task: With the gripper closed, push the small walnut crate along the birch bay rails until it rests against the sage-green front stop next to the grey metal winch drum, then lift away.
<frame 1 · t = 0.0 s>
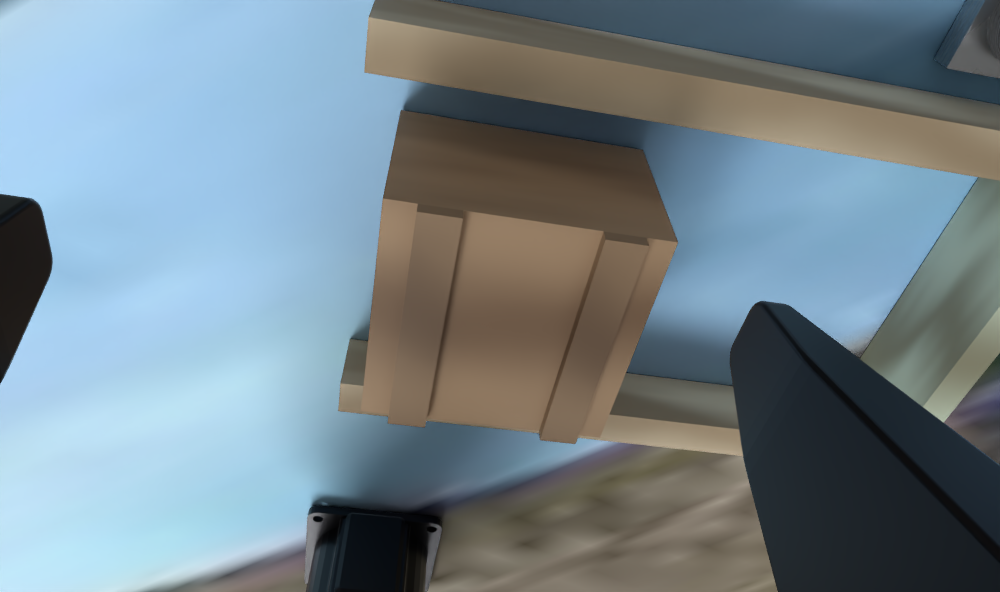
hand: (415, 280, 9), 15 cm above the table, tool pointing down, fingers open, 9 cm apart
crate: (503, 282, 24), point 3 cm above the table, slide at 0.0 cm
bay: (661, 254, 27), on the table
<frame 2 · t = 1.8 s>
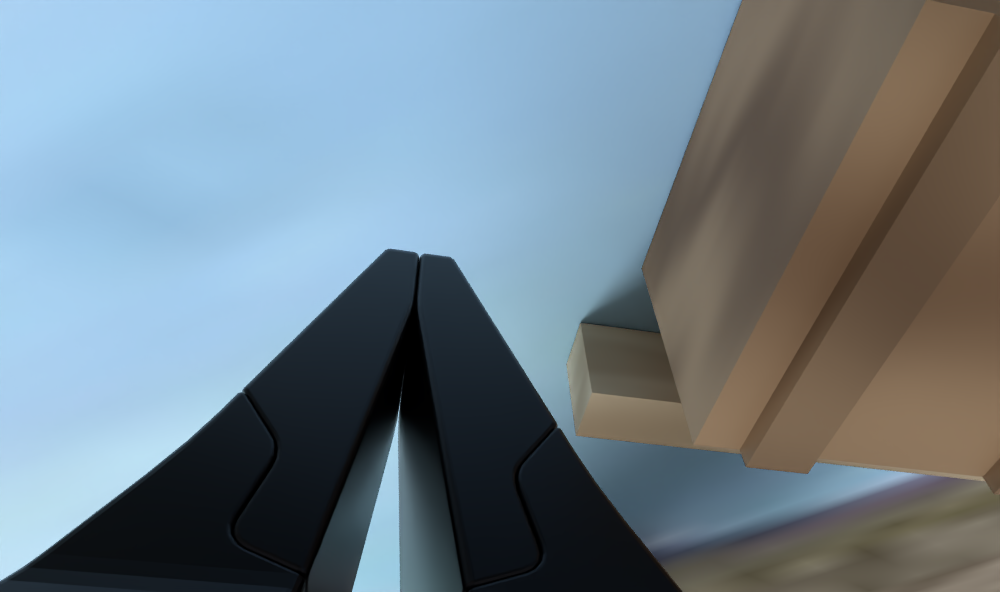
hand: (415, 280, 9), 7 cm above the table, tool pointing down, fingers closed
crate: (941, 218, 14), point 3 cm above the table, slide at 0.0 cm
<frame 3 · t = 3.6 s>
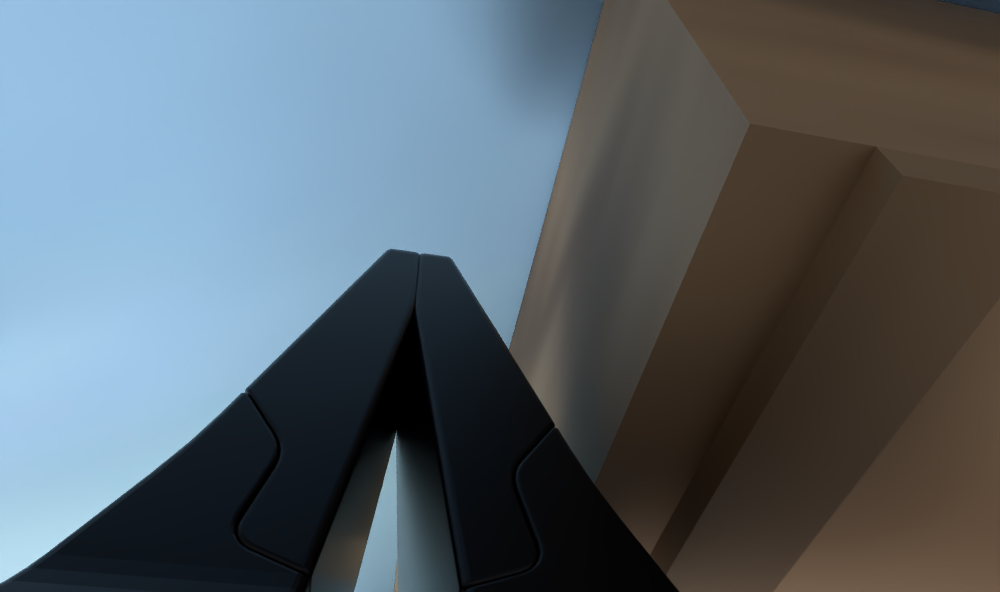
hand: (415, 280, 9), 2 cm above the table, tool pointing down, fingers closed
crate: (858, 369, 10), point 3 cm above the table, slide at 0.4 cm, touching gripper
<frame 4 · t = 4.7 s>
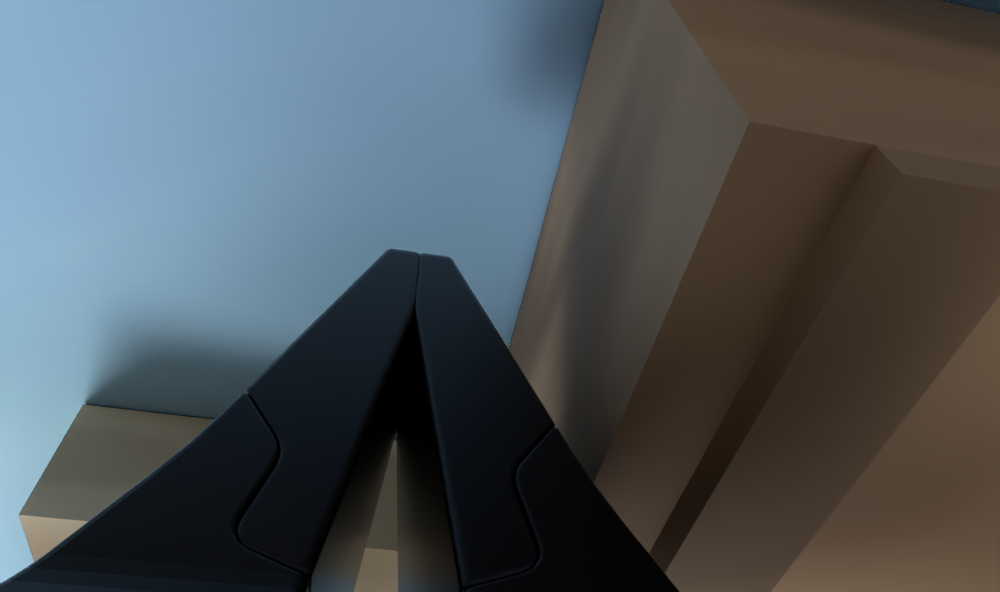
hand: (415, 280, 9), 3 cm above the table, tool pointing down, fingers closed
crate: (857, 368, 10), point 3 cm above the table, slide at 6.8 cm, touching gripper
bay: (740, 233, 12), on the table
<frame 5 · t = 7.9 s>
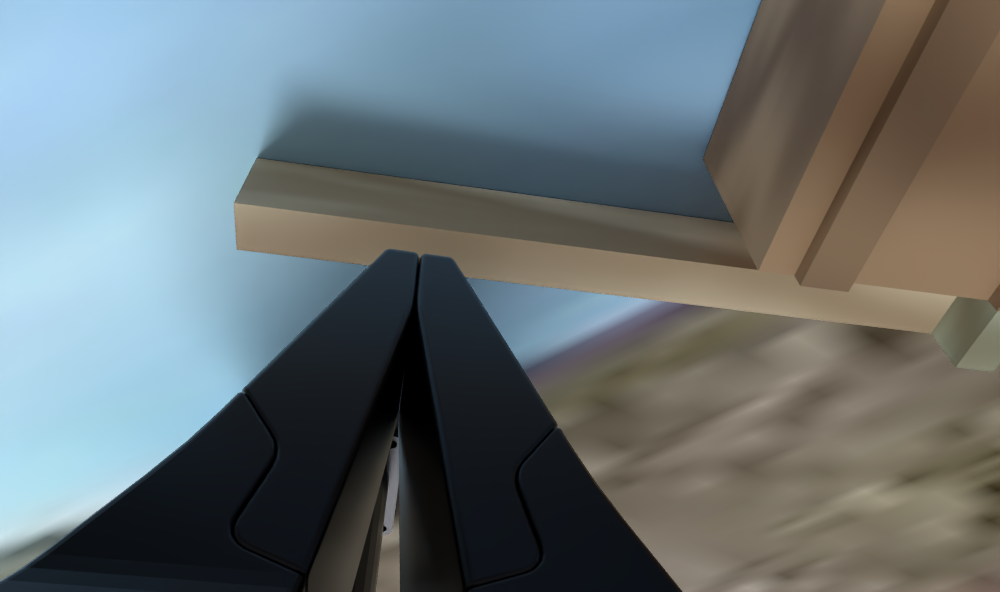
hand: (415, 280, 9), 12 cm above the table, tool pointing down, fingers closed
crate: (951, 90, 17), point 3 cm above the table, slide at 11.8 cm, touching bay
bay: (686, 9, 19), on the table
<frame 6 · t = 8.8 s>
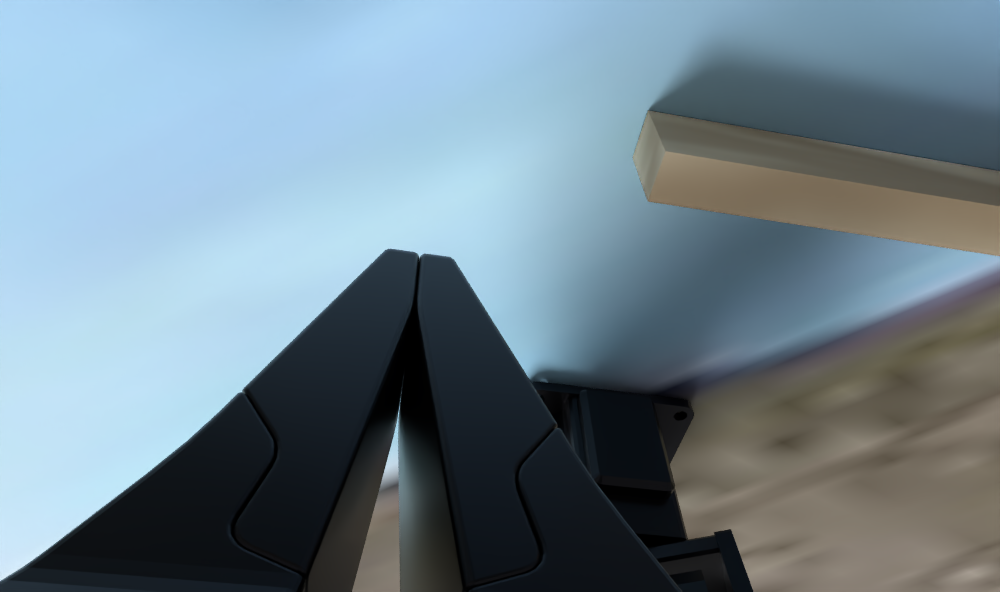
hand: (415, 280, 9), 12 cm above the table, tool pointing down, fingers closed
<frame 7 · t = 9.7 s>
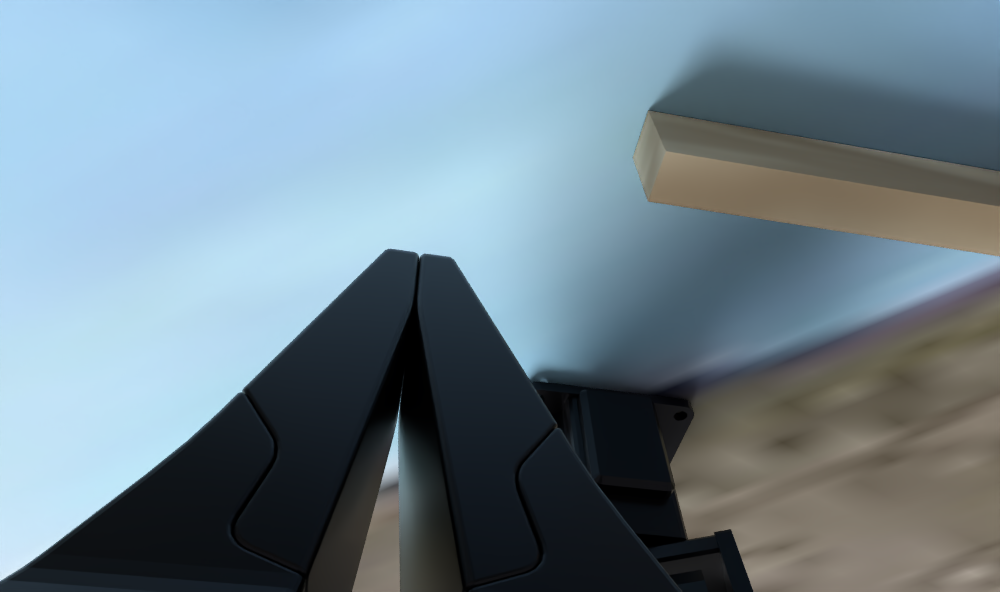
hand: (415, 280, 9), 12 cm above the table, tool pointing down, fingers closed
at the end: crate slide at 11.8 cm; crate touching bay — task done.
